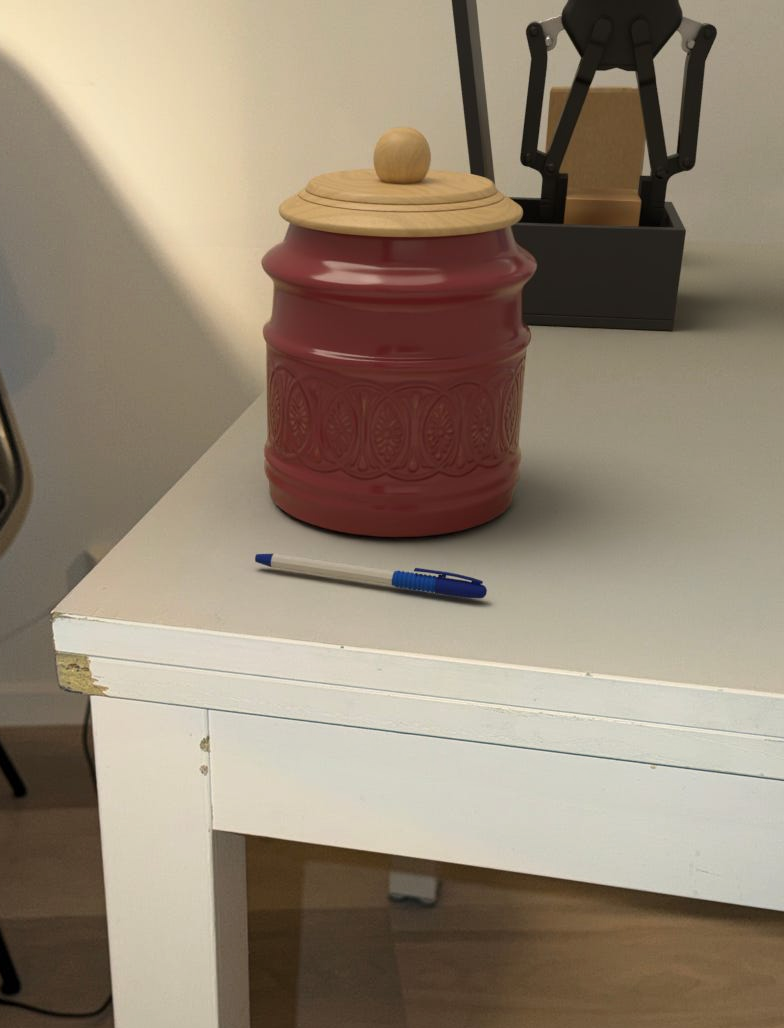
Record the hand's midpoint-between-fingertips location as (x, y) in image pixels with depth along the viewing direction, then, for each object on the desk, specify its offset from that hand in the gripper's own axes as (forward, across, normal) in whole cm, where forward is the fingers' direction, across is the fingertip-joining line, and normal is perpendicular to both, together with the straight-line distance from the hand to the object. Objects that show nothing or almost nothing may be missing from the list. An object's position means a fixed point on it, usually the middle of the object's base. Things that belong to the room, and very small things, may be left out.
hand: (595, 263), depth 102 cm
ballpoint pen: (+4, -11, -54) cm, 56 cm away
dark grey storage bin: (+3, -1, 0) cm, 4 cm away
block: (0, 0, 0) cm, 0 cm away
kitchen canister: (+4, -11, -43) cm, 45 cm away
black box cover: (-12, -10, 0) cm, 15 cm away
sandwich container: (+4, 0, +24) cm, 24 cm away
